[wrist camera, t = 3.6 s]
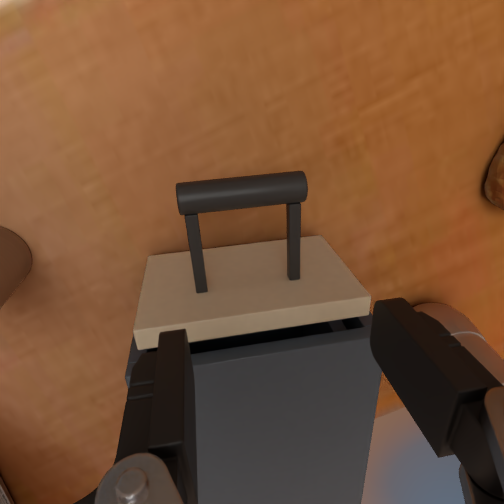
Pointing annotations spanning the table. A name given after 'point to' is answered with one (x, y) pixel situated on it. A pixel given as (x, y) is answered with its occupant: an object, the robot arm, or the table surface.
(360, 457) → the cabinet
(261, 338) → the drawer
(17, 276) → the steel cylinder
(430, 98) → the table surface
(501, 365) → the metallic bottle
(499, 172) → the pastry
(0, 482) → the tin
